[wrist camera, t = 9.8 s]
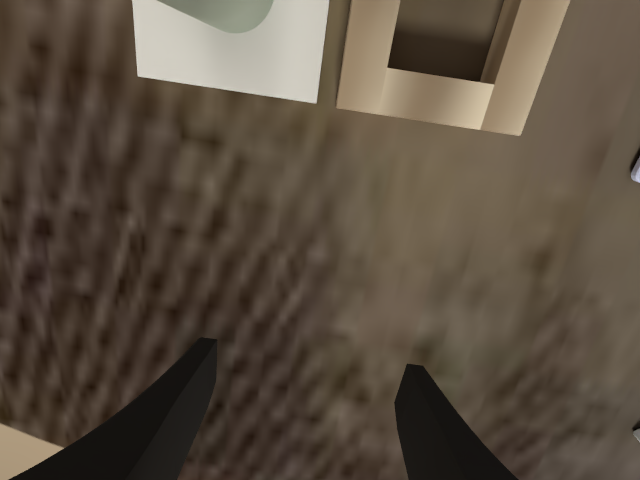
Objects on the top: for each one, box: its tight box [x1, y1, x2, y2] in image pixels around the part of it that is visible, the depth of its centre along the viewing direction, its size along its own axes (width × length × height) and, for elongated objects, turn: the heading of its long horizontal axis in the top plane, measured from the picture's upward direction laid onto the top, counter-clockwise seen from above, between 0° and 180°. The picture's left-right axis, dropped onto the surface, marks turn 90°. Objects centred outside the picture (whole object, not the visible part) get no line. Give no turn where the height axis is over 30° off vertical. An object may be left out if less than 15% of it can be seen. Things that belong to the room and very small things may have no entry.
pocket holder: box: [336, 0, 570, 136], centre depth 15 cm, size 9×9×2 cm
